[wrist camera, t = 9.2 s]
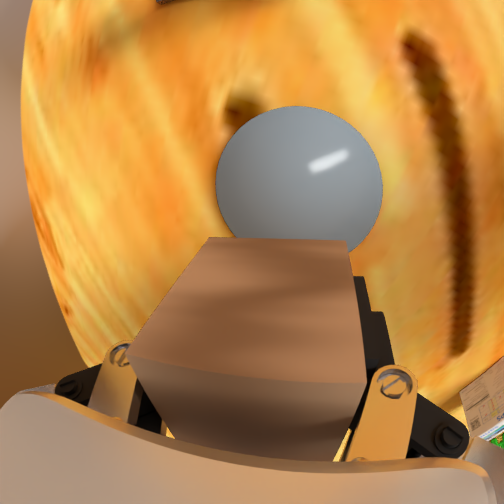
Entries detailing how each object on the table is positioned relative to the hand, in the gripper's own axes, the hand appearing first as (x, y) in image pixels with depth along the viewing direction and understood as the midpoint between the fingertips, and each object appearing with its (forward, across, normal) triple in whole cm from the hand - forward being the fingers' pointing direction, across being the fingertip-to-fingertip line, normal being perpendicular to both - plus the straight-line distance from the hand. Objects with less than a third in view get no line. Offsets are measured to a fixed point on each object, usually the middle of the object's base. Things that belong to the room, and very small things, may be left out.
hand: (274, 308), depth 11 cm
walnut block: (+1, 0, 0) cm, 1 cm away
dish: (+17, 0, 0) cm, 17 cm away
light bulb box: (+17, -35, +30) cm, 49 cm away
